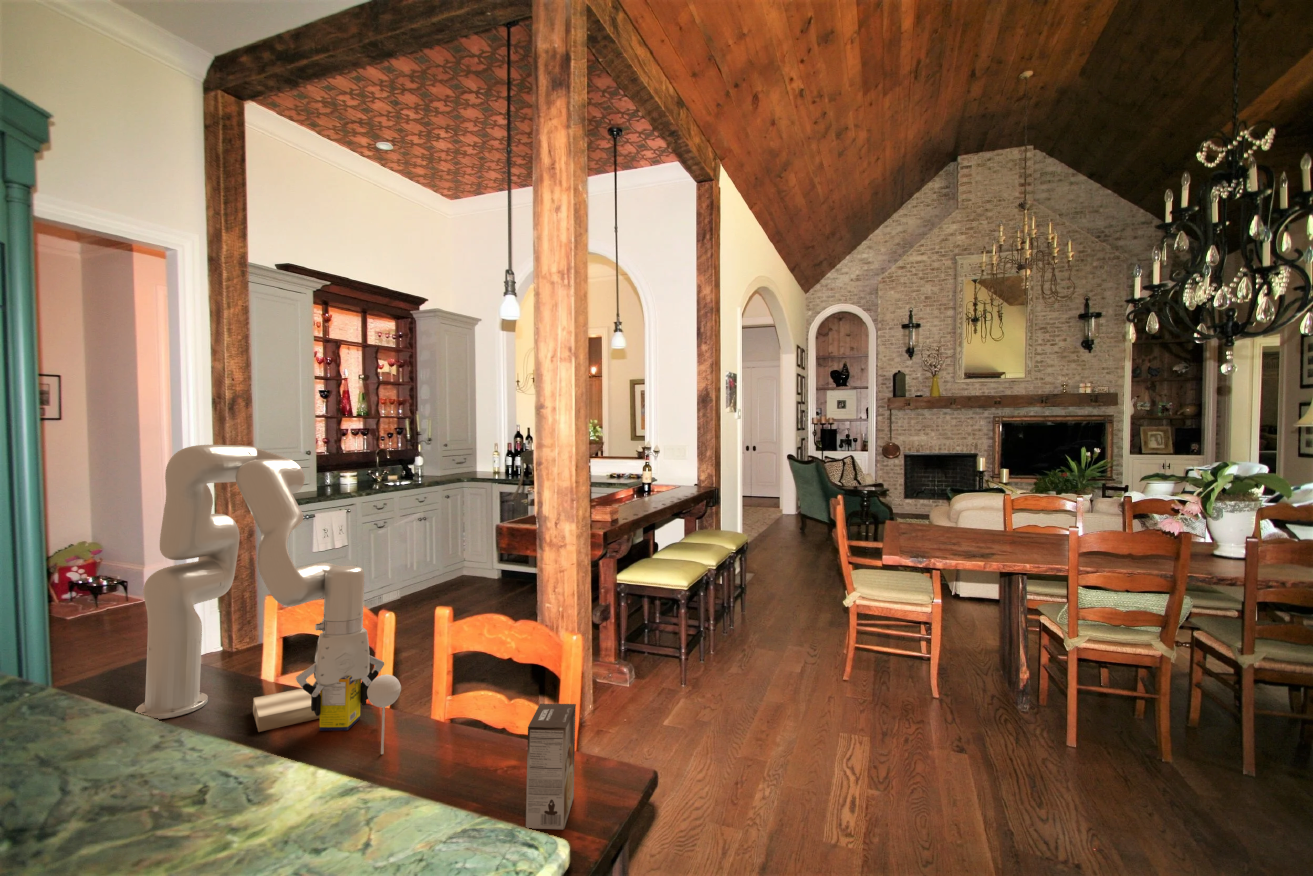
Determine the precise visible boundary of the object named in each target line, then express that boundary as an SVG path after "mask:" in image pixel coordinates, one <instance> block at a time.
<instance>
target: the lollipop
mask: <svg viewBox="0 0 1313 876" xmlns="http://www.w3.org/2000/svg"><path fill="white" fill-rule="evenodd" d="M401 691H402V685H401V683H400V681H399V679H398V678H397V677H396V676H394V675H393V674H381V675H378V676H377V677H376V678H375V679H374V680H373V681H372V682H371V684H370V685H369V687H368V689H367V696H368V699H367V700H368V701H369V703H370V704H372V706H374V707H377V708H381V709H382V711H381V736H380V737H381V740H380V741H381V743H380V744H381V745H380V755H384V752H385V751H384V750H385V749H384V748H385V746H384V745H385V743H384V742H385V718H386V716H385V714H386V711H385V710H386V707H389V706H391V705H393V704H395V702H396V701H397V700H398V698H399V697H400V694H401Z"/></svg>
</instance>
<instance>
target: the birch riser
mask: <svg viewBox="0 0 1313 876" xmlns="http://www.w3.org/2000/svg"><path fill="white" fill-rule="evenodd" d="M252 702H253V703H252V715H253V717H254V721H255V724H256V728H257V732H258V733H260V732H264V731H269V730H275V729H279V728H282V727H287V726H292V725H296V724H301V723H303V722H304V723H305V722H310V721H314V720H318V719H320V715H319V716H316V714H315V712H314V711H311V695H310V694H309V693H308V692H306V691H305V690H304V689H303V688H302V687H301V688H297V689H292V690H287V691H283V692H276V693H271V694H267V695H261V696H256V697H253V699H252Z"/></svg>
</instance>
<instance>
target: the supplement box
mask: <svg viewBox="0 0 1313 876" xmlns="http://www.w3.org/2000/svg"><path fill="white" fill-rule="evenodd" d="M361 683H362V680H361V679H358V680H352V676H349V677H344V678H341V679H339V682H338V683H336V684H333V685H327V686H324V687H323V688H322V690H321V691H320V693H319V694H320V696H321V713H320V718H319V723H318V724H319V731H324V732H325V731H326V732H327V731H332V732H334V731H345V732H346V731H349V730H350V729H351V728H352V727H353V726H354V725H355V724H356V723H357V722H358V721H359V720H360V718H361V705H362V704H361V703H360V702H361Z"/></svg>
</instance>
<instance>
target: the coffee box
mask: <svg viewBox="0 0 1313 876" xmlns="http://www.w3.org/2000/svg"><path fill="white" fill-rule="evenodd" d="M576 706H577V704H576V703H539V705H538V707H537V709H536V711H535V712H534V714H533V717H532V718H531V720H530V722H529V724H528V726H527V750H526V751H527V753H526V754H527V755H526V756H527V758H526V794H525V795H526V797H525V799H526V800H525V804H526V805H525V828H526V827H527V828H526V829H529V828H532V830H534V829H535V830H537V829H538V830H565V828H566V825H567V821H568V818H569V814H570V811H571V807H572V805H573V801H574V796H575V791H574V790H575V755H576V753H575V749H576V748H575V747H576V746H575V745H576Z"/></svg>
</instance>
